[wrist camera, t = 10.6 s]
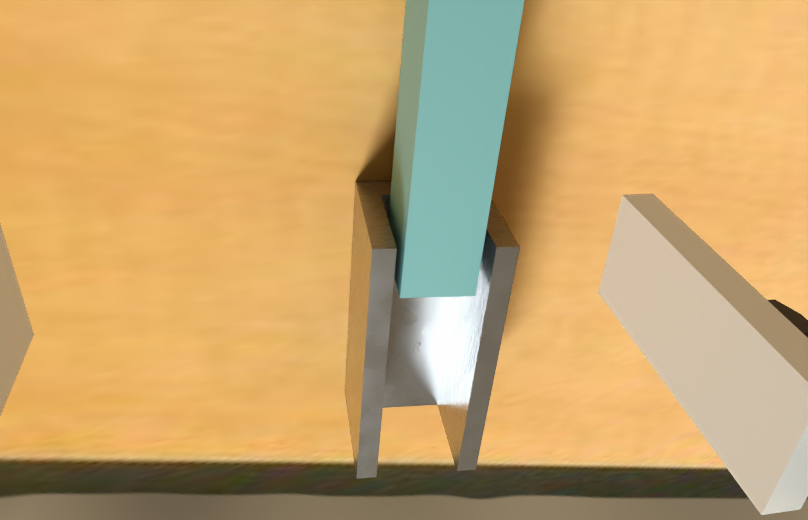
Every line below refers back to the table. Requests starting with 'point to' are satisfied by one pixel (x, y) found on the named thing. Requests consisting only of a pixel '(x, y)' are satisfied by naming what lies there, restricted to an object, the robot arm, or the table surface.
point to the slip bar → (449, 139)
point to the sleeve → (420, 336)
